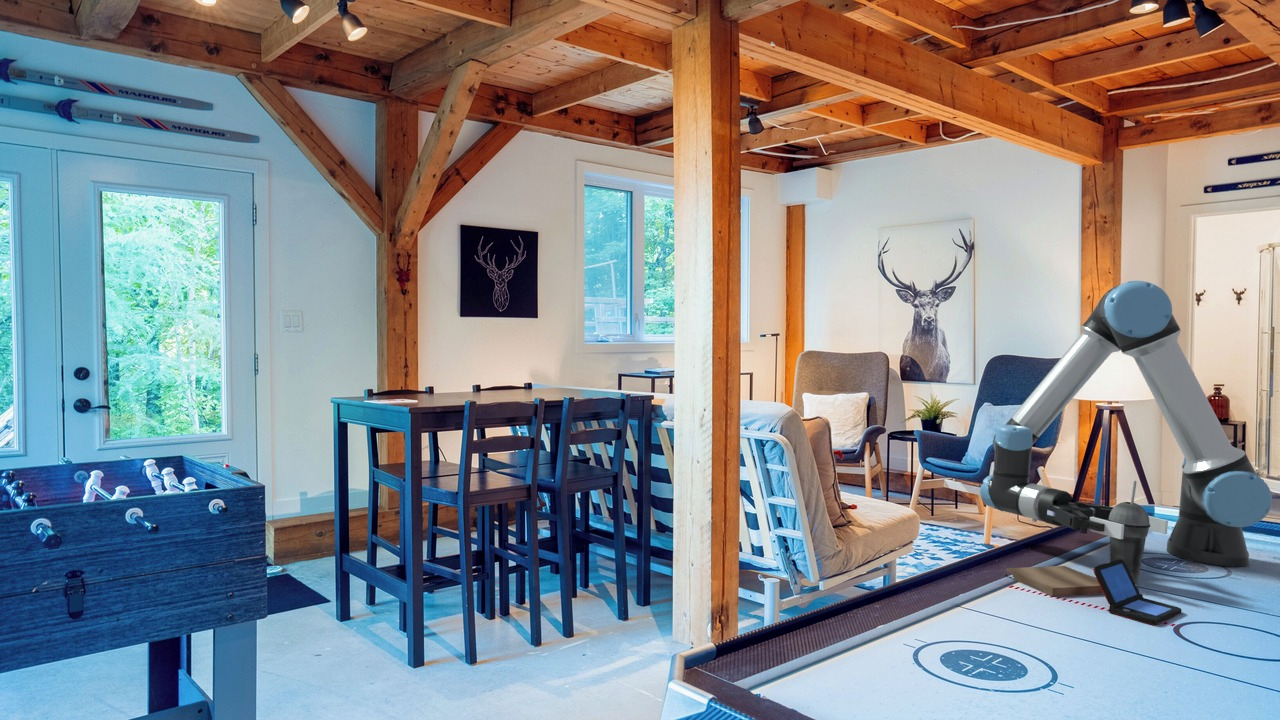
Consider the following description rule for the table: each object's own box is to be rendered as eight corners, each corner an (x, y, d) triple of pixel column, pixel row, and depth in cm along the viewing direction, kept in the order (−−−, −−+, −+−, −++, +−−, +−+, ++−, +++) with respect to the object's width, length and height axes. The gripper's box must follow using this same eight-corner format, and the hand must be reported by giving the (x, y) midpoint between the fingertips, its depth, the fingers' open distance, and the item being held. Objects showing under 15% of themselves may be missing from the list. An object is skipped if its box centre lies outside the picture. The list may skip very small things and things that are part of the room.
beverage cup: (1134, 576, 169) (1142, 477, 168) (1153, 588, 161) (1161, 484, 160) (1096, 573, 169) (1104, 475, 168) (1113, 585, 162) (1121, 482, 161)
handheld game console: (1155, 628, 139) (1159, 584, 139) (1087, 608, 148) (1091, 566, 147) (1184, 614, 147) (1187, 572, 147) (1118, 596, 156) (1121, 557, 155)
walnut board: (1063, 573, 168) (1064, 565, 168) (1113, 592, 157) (1113, 585, 157) (1005, 575, 164) (1006, 568, 164) (1052, 596, 153) (1052, 588, 153)
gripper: (1084, 518, 187) (1182, 544, 168) (1005, 526, 175) (1101, 554, 156) (1086, 485, 186) (1185, 506, 167) (1008, 490, 175) (1104, 514, 156)
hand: (1145, 529), depth 162 cm, fingers open, 13 cm apart
